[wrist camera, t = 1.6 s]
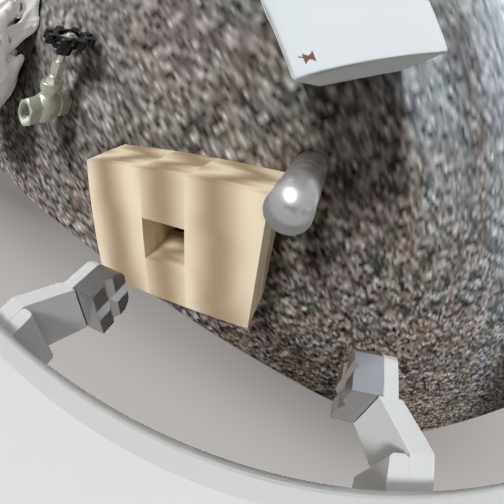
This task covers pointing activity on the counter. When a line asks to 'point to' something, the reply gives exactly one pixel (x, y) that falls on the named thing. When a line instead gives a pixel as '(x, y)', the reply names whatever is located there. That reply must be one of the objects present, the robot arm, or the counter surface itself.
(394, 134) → the counter surface
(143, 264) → the hole block
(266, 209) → the steel peg
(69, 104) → the valve
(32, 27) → the skull planter
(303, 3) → the supplement box
